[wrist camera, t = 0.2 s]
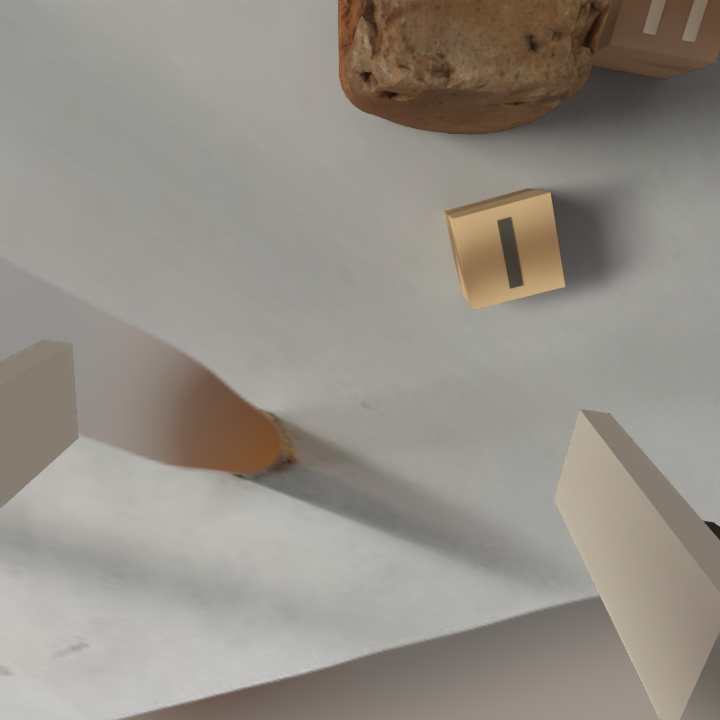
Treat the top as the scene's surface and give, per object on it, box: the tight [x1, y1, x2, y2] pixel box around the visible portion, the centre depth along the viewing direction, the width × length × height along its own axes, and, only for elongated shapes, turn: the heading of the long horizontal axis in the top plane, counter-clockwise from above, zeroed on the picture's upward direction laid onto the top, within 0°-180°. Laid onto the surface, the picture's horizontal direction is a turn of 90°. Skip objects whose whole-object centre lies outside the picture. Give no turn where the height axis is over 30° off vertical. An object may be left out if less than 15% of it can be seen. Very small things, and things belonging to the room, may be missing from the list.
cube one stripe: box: [444, 189, 565, 310], centre depth 38 cm, size 6×6×6 cm
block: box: [338, 0, 613, 134], centre depth 27 cm, size 11×8×20 cm
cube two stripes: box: [592, 0, 720, 79], centre depth 32 cm, size 6×6×6 cm
